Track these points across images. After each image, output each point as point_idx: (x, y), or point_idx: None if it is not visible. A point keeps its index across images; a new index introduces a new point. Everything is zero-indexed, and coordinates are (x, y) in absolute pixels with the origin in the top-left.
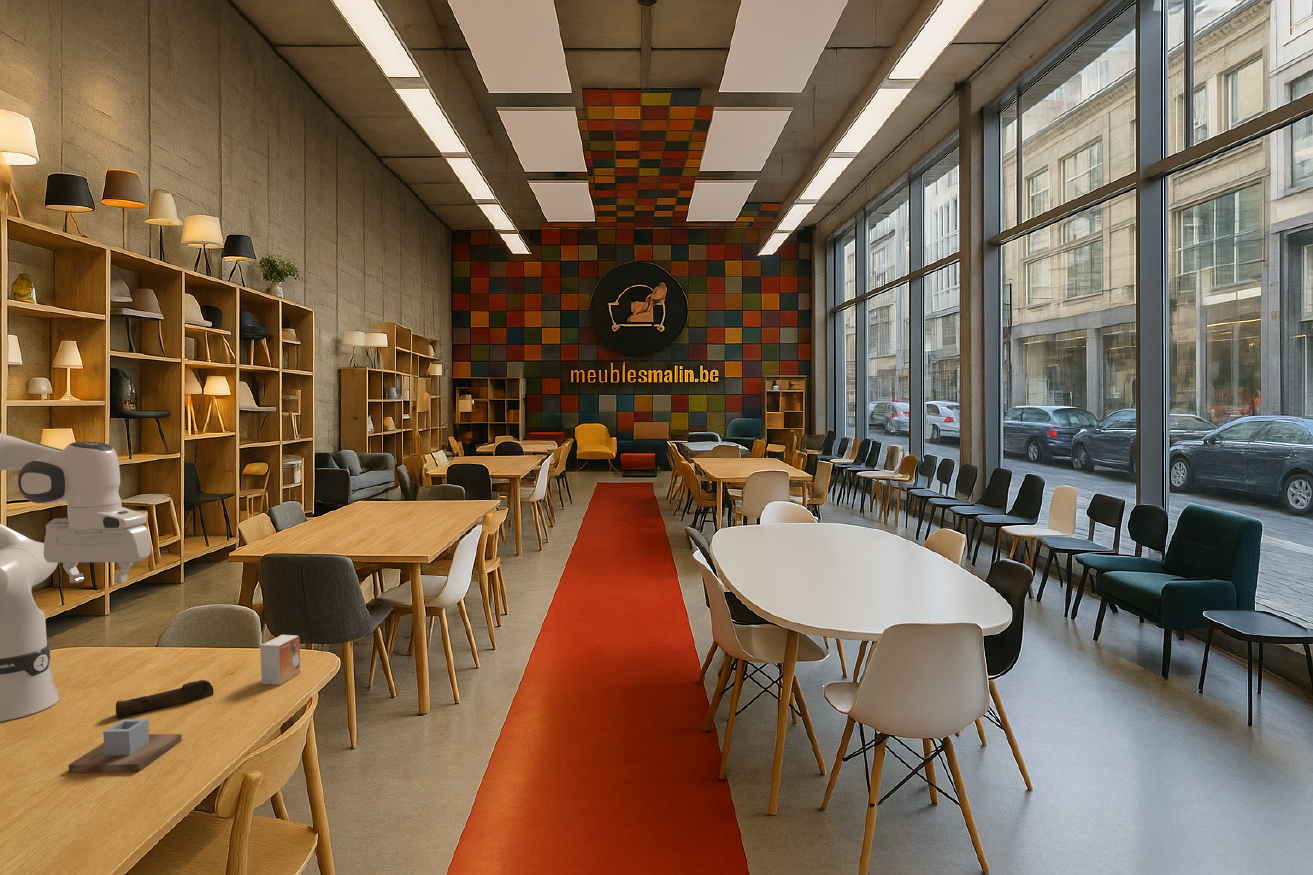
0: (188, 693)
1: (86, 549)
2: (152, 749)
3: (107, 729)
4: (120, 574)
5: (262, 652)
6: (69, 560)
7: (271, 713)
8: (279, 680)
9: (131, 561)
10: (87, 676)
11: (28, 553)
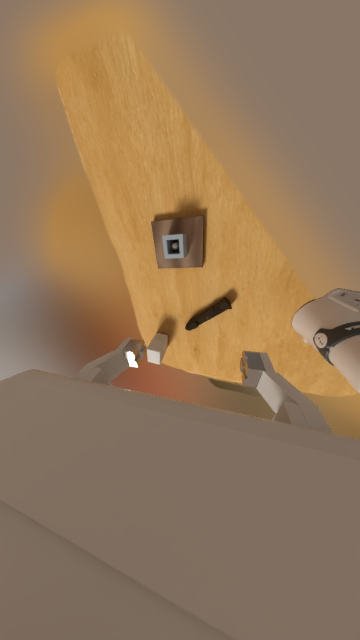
0: (193, 320)
1: (167, 503)
2: (159, 245)
3: (182, 238)
4: (115, 350)
5: (160, 348)
6: (286, 434)
7: (135, 300)
8: (156, 334)
9: (37, 371)
10: (293, 358)
11: None
